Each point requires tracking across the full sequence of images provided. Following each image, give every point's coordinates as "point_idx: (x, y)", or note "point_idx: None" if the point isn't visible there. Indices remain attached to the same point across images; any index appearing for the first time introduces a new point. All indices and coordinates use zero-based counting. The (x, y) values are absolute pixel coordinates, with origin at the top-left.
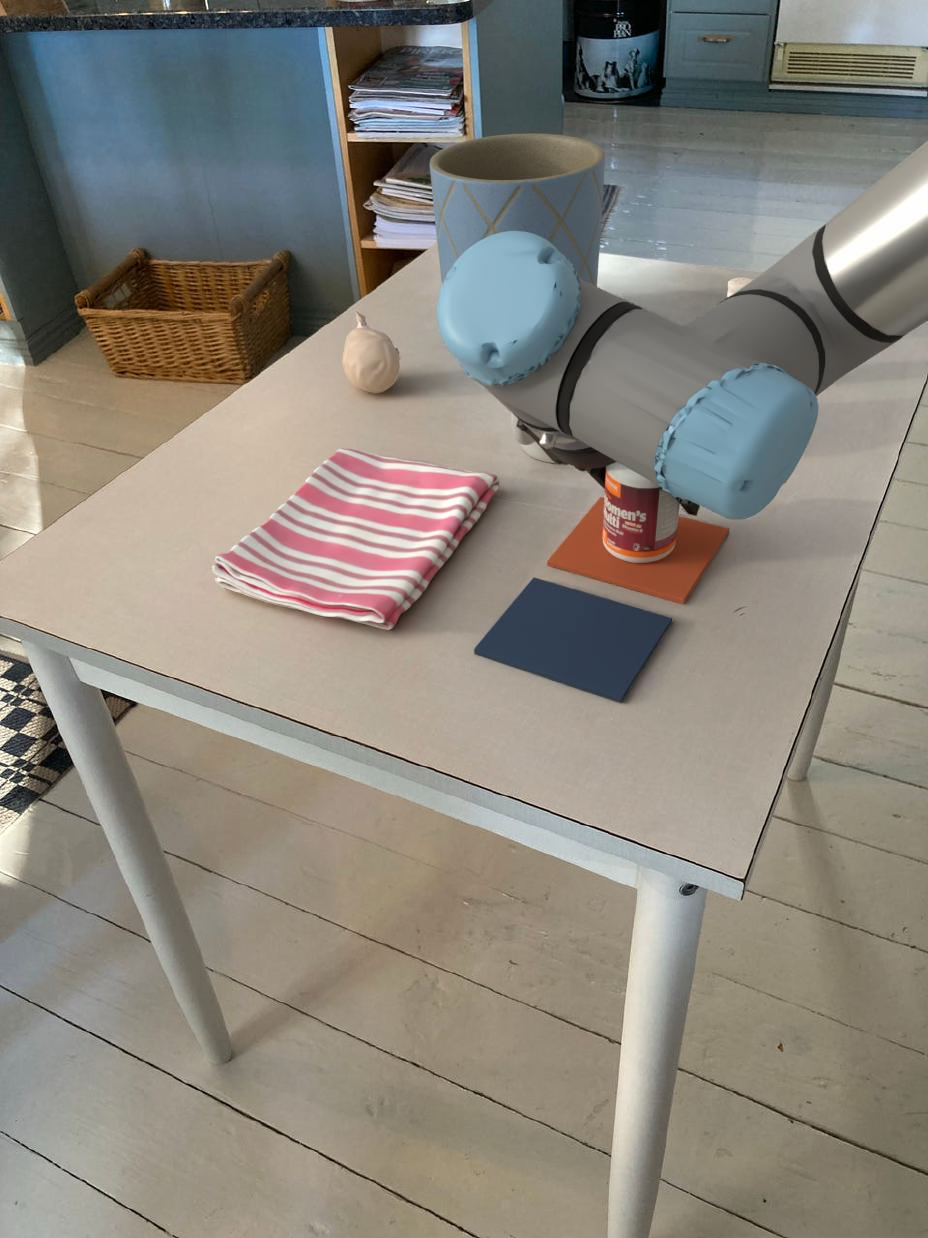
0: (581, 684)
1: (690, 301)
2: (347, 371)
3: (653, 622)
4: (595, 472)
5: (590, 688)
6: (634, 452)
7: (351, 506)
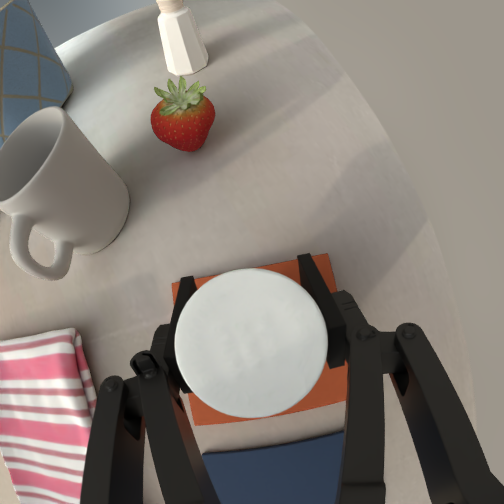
0: None
1: (125, 31)
2: None
3: None
4: (190, 389)
5: None
6: None
7: (21, 423)
